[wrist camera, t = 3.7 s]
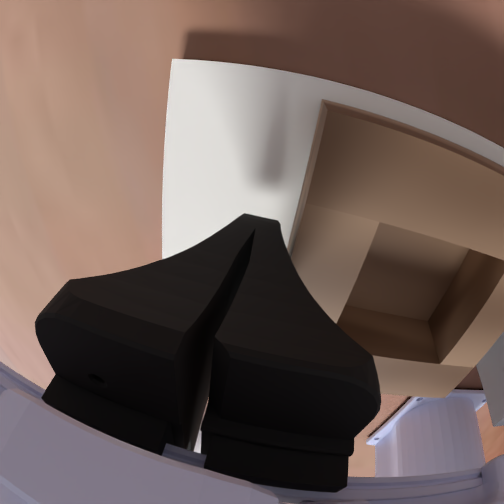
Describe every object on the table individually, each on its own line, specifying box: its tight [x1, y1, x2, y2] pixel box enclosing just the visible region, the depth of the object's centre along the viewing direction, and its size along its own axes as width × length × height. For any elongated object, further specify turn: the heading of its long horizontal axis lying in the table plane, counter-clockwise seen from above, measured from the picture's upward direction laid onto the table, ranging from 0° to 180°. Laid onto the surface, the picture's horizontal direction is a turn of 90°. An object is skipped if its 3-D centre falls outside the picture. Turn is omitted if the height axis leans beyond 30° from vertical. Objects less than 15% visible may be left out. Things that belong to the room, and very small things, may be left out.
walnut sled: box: [287, 99, 504, 398], centre depth 10 cm, size 10×9×4 cm
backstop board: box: [162, 59, 504, 426], centre depth 10 cm, size 11×20×6 cm, turn 82°
